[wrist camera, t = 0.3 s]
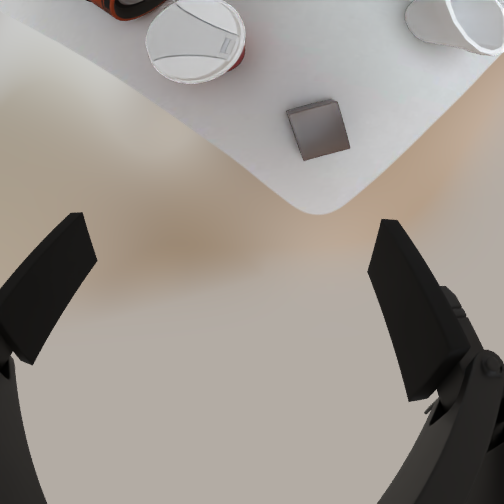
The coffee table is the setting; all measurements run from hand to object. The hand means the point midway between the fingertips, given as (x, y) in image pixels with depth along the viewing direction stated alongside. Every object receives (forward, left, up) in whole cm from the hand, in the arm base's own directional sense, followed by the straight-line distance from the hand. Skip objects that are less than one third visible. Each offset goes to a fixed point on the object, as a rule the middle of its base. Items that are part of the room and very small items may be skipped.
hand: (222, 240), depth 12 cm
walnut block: (0, +8, -28) cm, 29 cm away
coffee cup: (-10, -4, -28) cm, 30 cm away
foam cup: (-18, +23, -28) cm, 40 cm away
